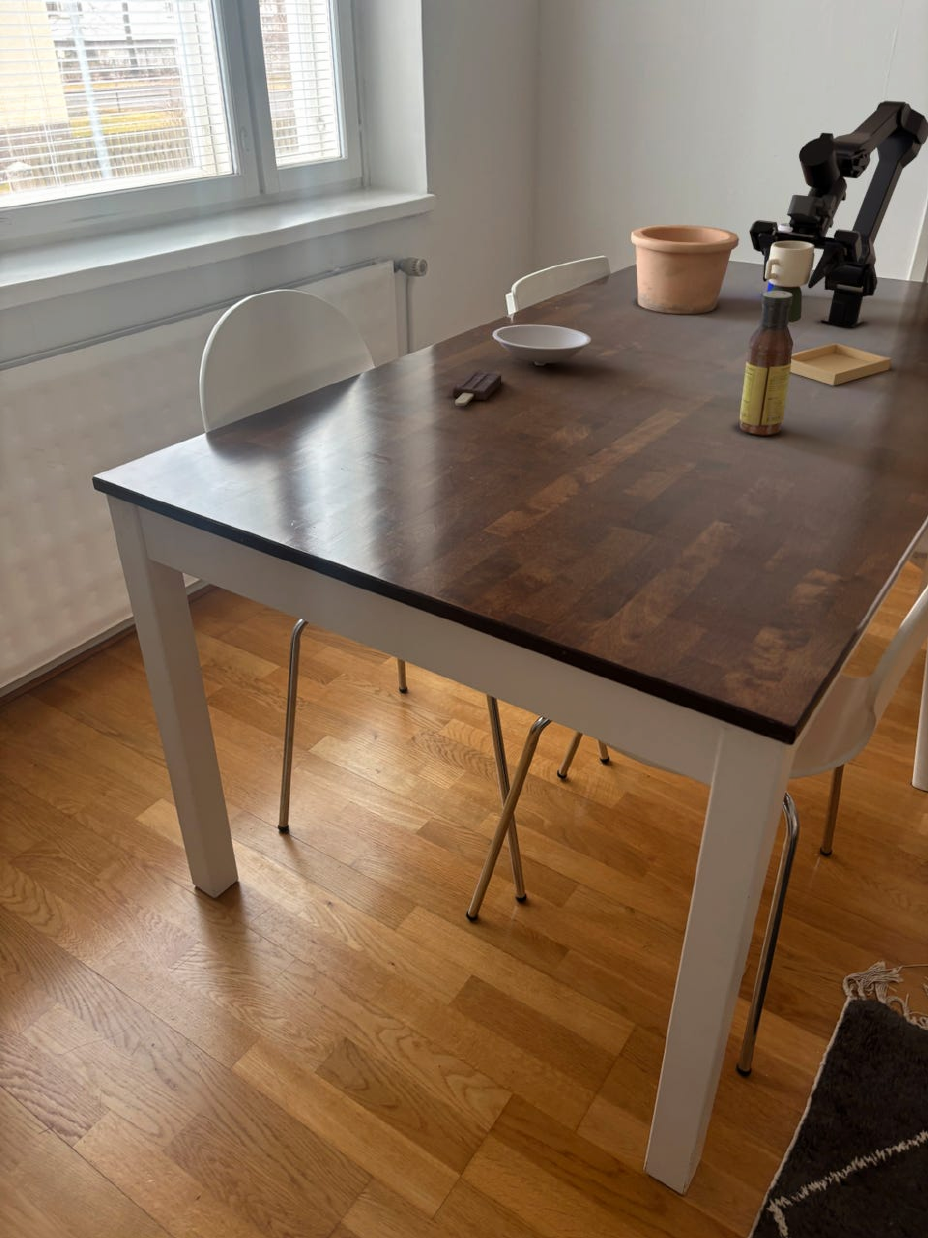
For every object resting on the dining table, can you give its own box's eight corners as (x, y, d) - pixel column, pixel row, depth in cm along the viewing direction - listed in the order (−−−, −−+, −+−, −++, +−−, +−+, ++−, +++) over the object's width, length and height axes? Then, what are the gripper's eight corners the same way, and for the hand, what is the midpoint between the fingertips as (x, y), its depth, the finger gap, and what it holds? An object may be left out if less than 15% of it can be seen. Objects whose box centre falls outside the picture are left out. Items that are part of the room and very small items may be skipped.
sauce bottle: (781, 425, 145) (807, 290, 134) (779, 439, 140) (805, 300, 129) (737, 420, 146) (759, 286, 136) (733, 434, 141) (755, 296, 131)
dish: (478, 368, 167) (478, 340, 165) (510, 347, 178) (510, 320, 176) (573, 382, 161) (575, 353, 158) (600, 359, 172) (602, 331, 170)
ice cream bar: (474, 411, 149) (502, 382, 161) (474, 400, 148) (502, 372, 160) (443, 407, 151) (473, 378, 163) (443, 397, 150) (473, 369, 162)
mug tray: (777, 368, 168) (779, 356, 167) (833, 353, 176) (835, 342, 175) (833, 385, 160) (835, 374, 159) (888, 369, 168) (891, 358, 167)
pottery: (652, 287, 219) (659, 220, 211) (744, 302, 208) (755, 232, 200) (607, 306, 204) (613, 235, 196) (703, 323, 193) (713, 248, 185)
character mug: (789, 311, 176) (800, 236, 169) (819, 320, 170) (831, 243, 163) (744, 321, 171) (754, 245, 164) (774, 330, 166) (784, 252, 159)
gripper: (762, 169, 165) (727, 248, 164) (872, 179, 156) (835, 262, 154) (772, 211, 175) (738, 285, 173) (875, 223, 165) (841, 301, 164)
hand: (786, 283), depth 166 cm, fingers closed on character mug, 8 cm apart
